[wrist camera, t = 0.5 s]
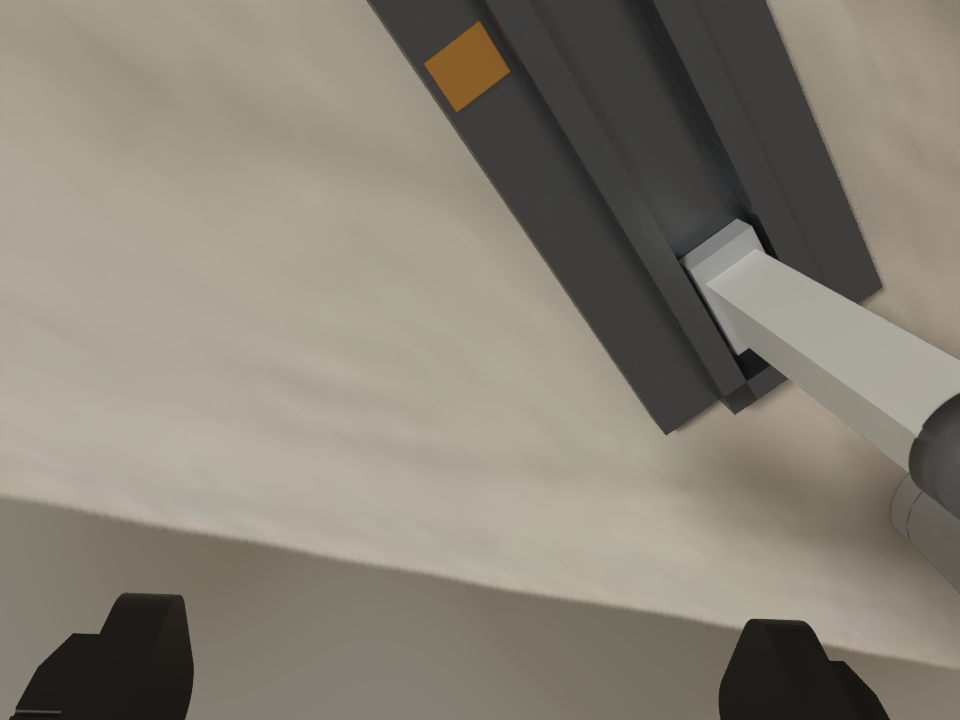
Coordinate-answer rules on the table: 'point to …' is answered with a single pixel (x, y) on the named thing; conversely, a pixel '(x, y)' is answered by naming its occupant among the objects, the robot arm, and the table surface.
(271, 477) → the table surface
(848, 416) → the fader tab
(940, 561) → the cup
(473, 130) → the fader track
